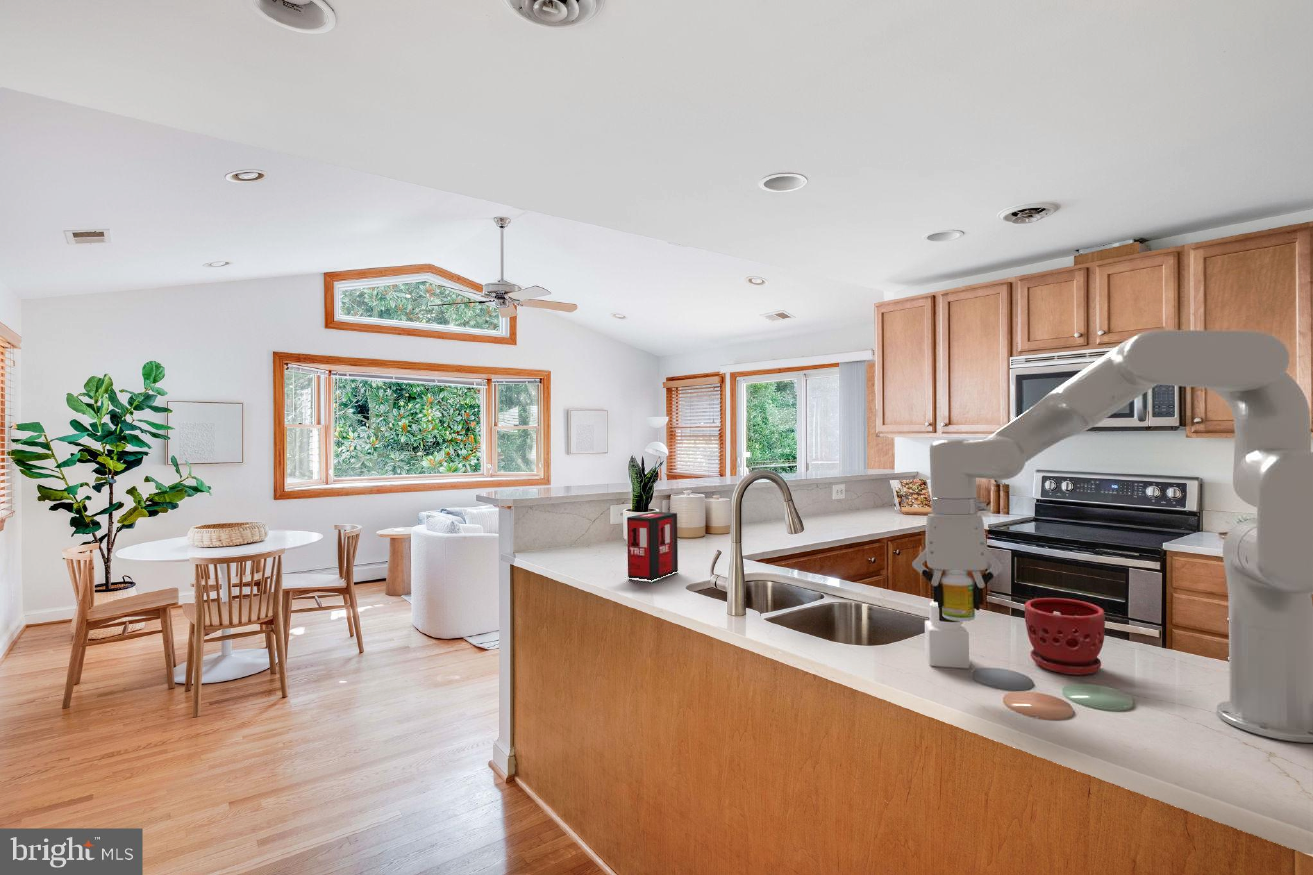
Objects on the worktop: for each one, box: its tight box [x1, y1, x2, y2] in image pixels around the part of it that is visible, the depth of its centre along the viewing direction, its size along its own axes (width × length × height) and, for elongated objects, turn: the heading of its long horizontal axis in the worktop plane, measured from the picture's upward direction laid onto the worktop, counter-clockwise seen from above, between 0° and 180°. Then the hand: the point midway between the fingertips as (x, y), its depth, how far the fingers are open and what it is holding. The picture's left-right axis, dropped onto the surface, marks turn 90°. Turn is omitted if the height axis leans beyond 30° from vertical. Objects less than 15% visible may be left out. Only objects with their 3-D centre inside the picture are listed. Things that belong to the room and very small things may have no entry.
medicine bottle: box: [924, 600, 970, 670], centre depth 130 cm, size 7×7×12 cm
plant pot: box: [1024, 597, 1106, 676], centre depth 126 cm, size 13×13×12 cm
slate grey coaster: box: [971, 667, 1034, 691], centre depth 120 cm, size 10×10×1 cm
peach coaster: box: [1002, 690, 1074, 720], centre depth 108 cm, size 10×10×1 cm
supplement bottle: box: [940, 570, 976, 622], centre depth 118 cm, size 5×5×10 cm
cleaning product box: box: [626, 511, 679, 581], centre depth 212 cm, size 16×9×20 cm, turn 148°
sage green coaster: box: [1061, 683, 1134, 712], centre depth 111 cm, size 10×10×1 cm
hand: (958, 606), depth 118 cm, fingers closed on supplement bottle, 5 cm apart
